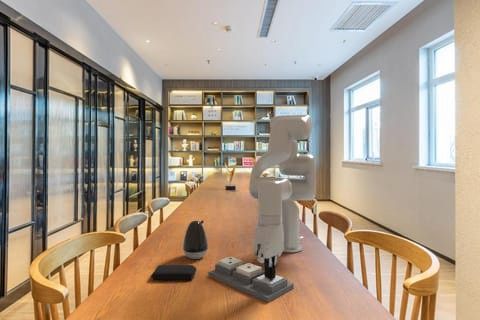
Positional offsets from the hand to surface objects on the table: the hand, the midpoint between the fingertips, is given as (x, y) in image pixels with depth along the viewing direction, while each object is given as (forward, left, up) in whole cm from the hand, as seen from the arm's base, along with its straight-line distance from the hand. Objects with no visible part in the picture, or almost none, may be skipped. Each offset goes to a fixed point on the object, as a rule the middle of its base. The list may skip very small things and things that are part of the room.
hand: (269, 277), depth 96 cm
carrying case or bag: (+14, -32, -5) cm, 35 cm away
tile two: (0, -18, -1) cm, 18 cm away
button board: (0, -9, -4) cm, 10 cm away
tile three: (0, 0, -2) cm, 2 cm away
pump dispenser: (-2, -41, -4) cm, 41 cm away
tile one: (0, -9, -1) cm, 9 cm away
